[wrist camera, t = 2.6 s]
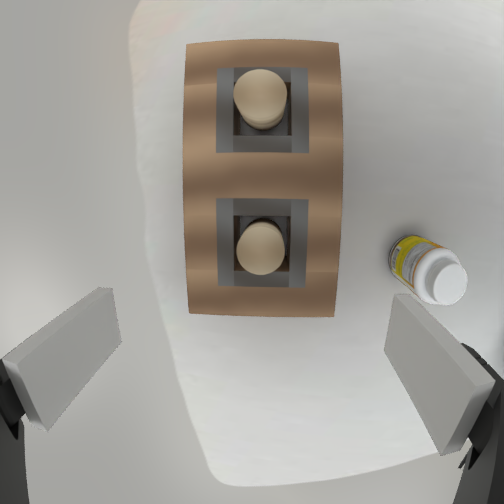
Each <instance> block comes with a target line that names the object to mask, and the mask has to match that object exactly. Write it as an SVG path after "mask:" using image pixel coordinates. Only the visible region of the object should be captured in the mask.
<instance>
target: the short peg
mask: <svg viewBox="0 0 504 504" xmlns="http://www.w3.org/2000/svg"><path fill="white" fill-rule="evenodd" d="M284 255H285V248H284V242H283V236H282V232H281V229H280V227H279V226H278V225H277V224H276V223H275V222H274V221H272V220H270V219H267V218H259V219H256V220H253V221H252V222H250V223H249V224H248V225H247V227H246V229H245V230H244V232H243V234H242V236H241V238H240V240H239V242H238V245H237V258H238V260H239V262H240V264H241V266H242V267H243V268H244V269H246V270H247V271H248V272H250V273H253V274H257V275H265V274H269V273H271V272H273V271H275V270H276V269H277V268H278V267H279V266H280V265H281V263H282V261H283V259H284Z"/></svg>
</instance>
